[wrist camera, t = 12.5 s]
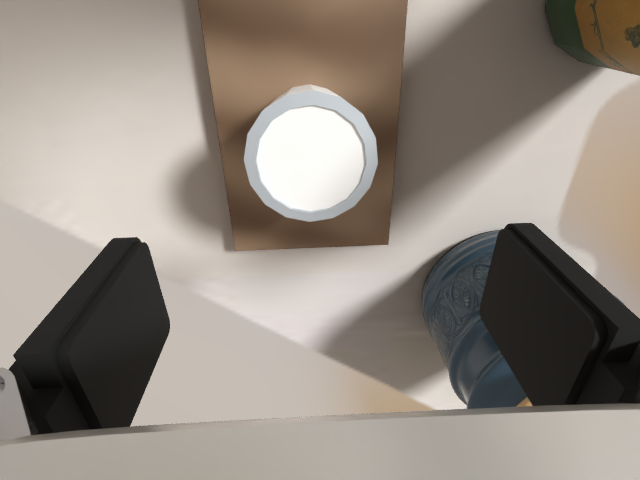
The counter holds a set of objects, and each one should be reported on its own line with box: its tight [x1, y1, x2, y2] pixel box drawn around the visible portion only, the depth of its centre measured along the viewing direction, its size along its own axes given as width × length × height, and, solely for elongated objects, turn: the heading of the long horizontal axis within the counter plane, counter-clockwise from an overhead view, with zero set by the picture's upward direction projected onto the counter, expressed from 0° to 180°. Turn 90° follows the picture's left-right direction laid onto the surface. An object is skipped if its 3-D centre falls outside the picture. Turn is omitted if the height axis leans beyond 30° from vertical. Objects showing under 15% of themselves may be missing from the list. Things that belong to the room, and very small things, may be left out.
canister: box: [422, 230, 624, 409], centre depth 27 cm, size 13×13×18 cm
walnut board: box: [198, 0, 408, 251], centre depth 26 cm, size 18×12×2 cm, turn 1°
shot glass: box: [244, 84, 378, 222], centre depth 22 cm, size 7×7×7 cm
